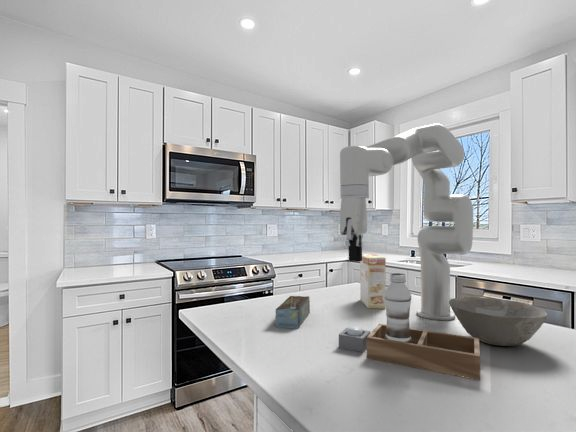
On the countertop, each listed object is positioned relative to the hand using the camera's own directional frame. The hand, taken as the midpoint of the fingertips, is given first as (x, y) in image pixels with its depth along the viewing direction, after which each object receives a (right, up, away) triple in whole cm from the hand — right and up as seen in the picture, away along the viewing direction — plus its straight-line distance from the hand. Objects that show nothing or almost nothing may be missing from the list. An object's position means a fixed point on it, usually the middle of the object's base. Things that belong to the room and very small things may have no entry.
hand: (355, 260), depth 90 cm
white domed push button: (0, -21, -1) cm, 21 cm away
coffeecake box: (+16, -24, +45) cm, 53 cm away
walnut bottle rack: (+15, -23, -9) cm, 28 cm away
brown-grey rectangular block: (-16, -24, +24) cm, 37 cm away
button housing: (0, -23, -1) cm, 23 cm away
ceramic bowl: (+39, -23, +3) cm, 46 cm away
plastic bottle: (+10, -23, -6) cm, 25 cm away
